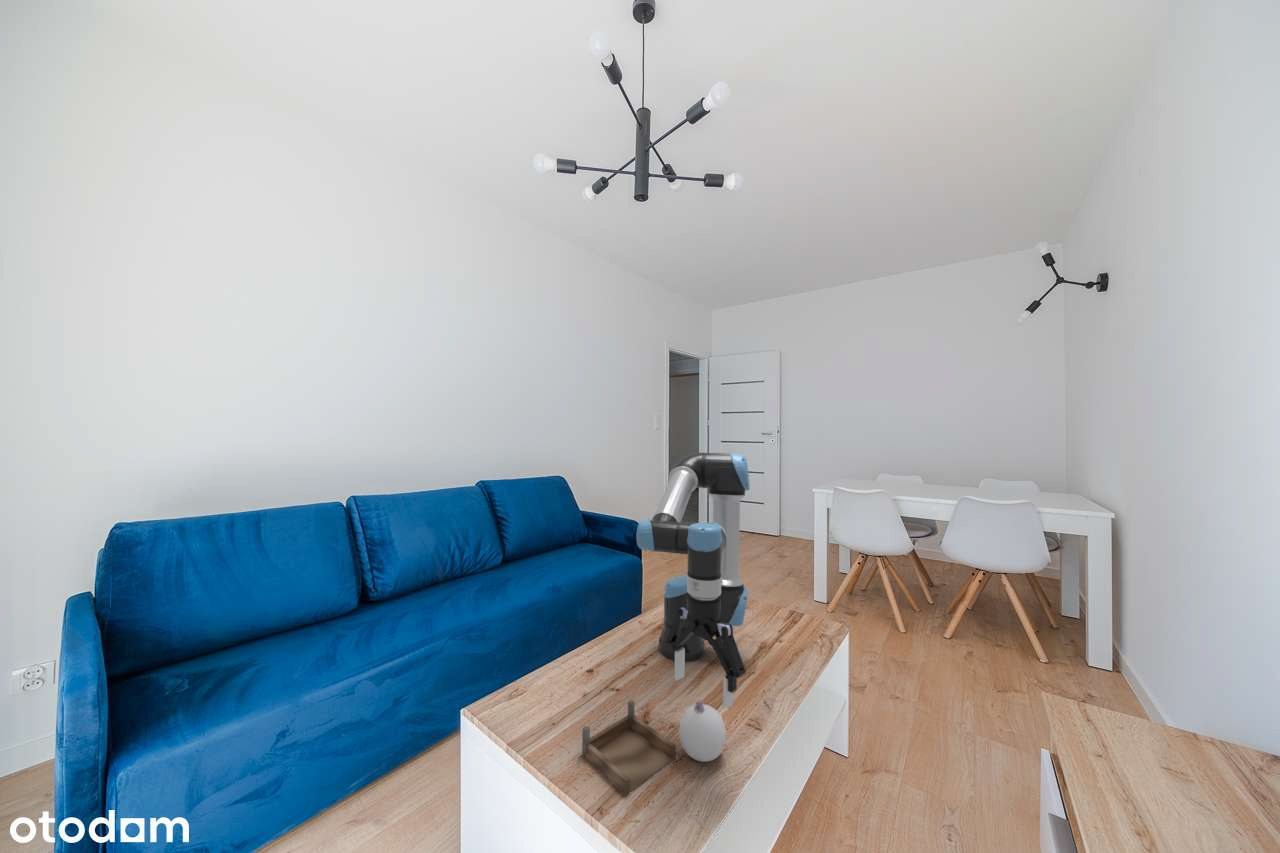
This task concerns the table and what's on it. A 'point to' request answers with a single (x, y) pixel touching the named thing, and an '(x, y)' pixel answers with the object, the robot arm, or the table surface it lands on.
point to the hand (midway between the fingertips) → (702, 690)
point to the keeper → (628, 751)
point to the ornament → (702, 732)
